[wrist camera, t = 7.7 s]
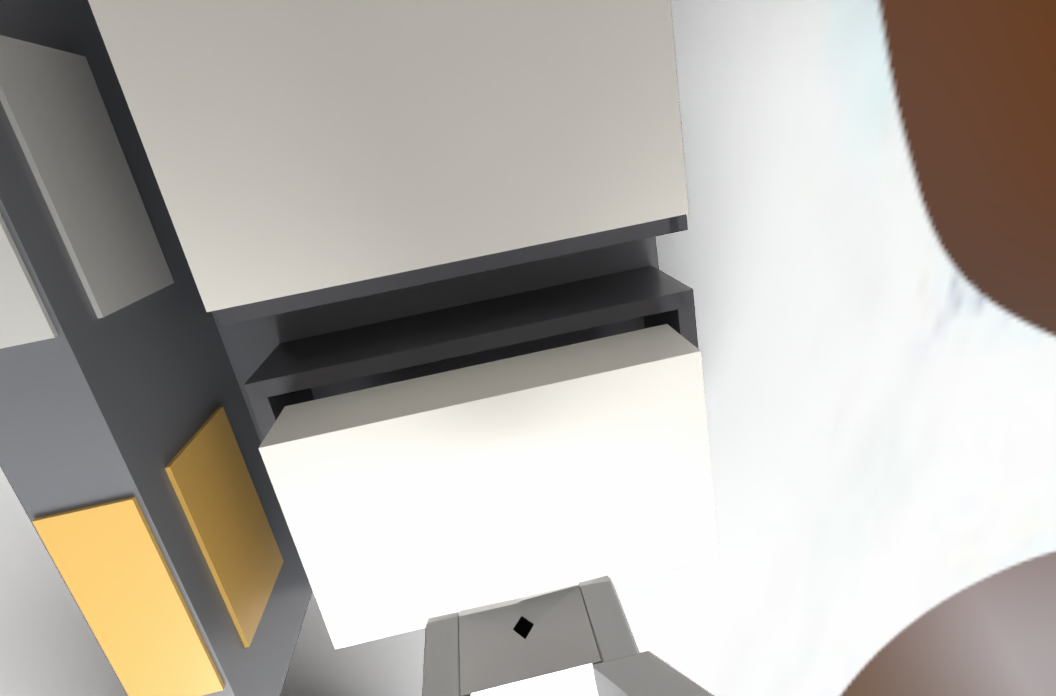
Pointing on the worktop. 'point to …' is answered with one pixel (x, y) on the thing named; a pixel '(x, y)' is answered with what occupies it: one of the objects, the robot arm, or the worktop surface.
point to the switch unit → (213, 369)
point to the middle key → (394, 130)
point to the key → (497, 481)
